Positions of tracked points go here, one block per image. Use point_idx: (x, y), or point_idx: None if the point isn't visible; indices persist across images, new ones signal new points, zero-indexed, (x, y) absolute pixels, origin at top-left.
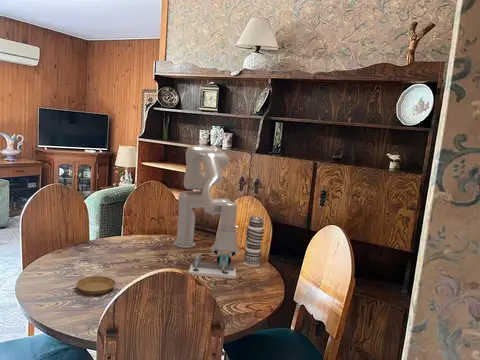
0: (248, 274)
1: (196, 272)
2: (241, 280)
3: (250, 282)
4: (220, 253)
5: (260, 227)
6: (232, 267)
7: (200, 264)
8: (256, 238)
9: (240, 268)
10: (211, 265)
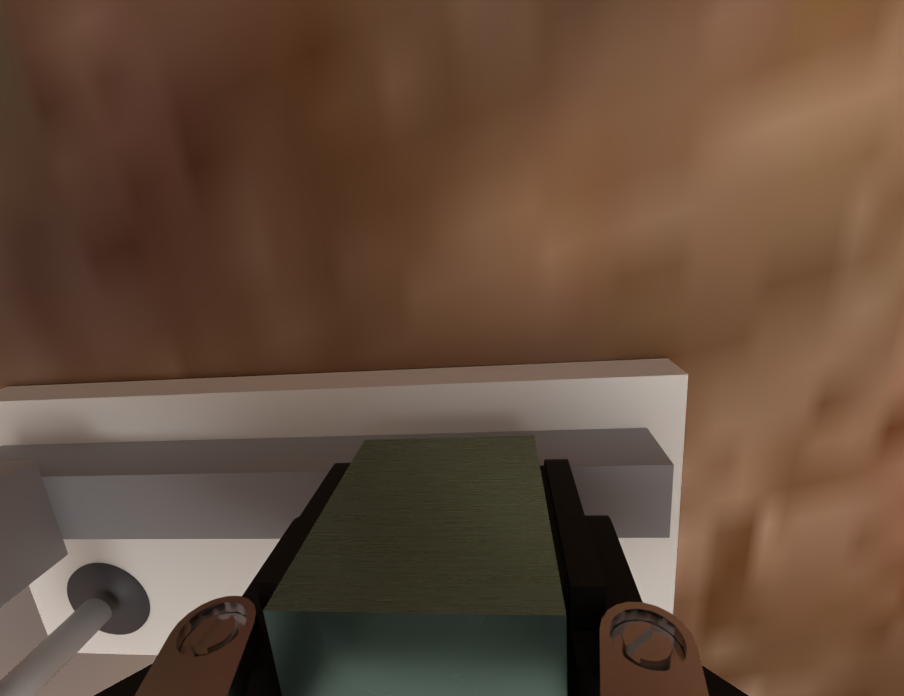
0: (886, 439)
1: (141, 653)
2: (730, 656)
3: (850, 692)
4: (280, 673)
5: None
6: (632, 525)
7: (83, 530)
8: None
9: (782, 193)
10: (256, 530)
